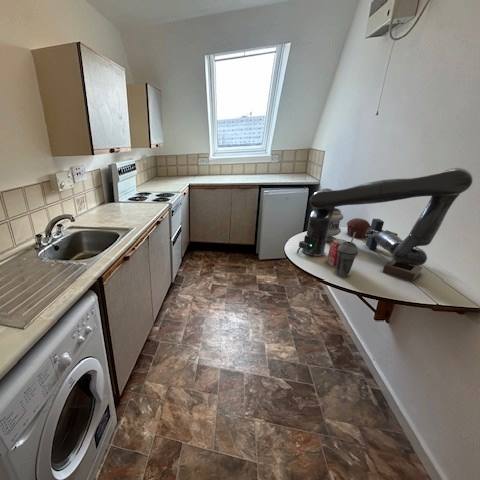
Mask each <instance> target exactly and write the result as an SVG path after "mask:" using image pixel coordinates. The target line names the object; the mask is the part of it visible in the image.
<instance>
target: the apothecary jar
mask: <svg viewBox="0 0 480 480" xmlns="http://www.w3.org/2000/svg"><path fill="white" fill-rule="evenodd" d="M342 220H344V215H343V213H342V209H341V208H338V207H335V208H334V212H333V216H332V218H331V221H330V226H329V231H328V235H327V240H326V243H332V242H333V240H334V239H337V238H336V237H335V236H338V235H340V234H341V232H342V230H341V228H340V223H341V221H342Z"/></svg>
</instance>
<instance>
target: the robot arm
mask: <svg viewBox="0 0 480 480" xmlns="http://www.w3.org/2000/svg"><path fill="white" fill-rule="evenodd" d="M473 180H474V179H473V175H472V173H471V172H470V171H469V170H467V169H465V168H462V167H452V168H448V169H446V170H443V171H441V172H437V173H433V174H428V175H425V176H418V177H411V178H410V177H409V178H407V177H406V178H389V179H381V180H376V181H375V180H374V181H369V182H365V183H360V184H357V185H354V186H351V187H348V188H342V189H335V190H333V189H332V188H327V187H326V188H322V189H319V190H317V191H316V192H314V193H313V194H312V195H311V197H310V199H309V203H310V206H311V207H312V210H311V213H310V215H309V218H308V223H307V229H306V234H305V235H304V240H300V241H299V242H298V249H297V251H296V254H300V253H299V252H300V250H301V249H302V250H301V252H302V253H303V254H306V255H308V256H310V257H322V256H324V255H325V250H326V245H327V242H326V240H327V235H328V231H329V226H330V221H331V218H332V216H333V212H334V208H338V207H342V206H355V205H356V206H357V205H372V204H381V203H389V202H395V201H401V200H407V199H412V198H420V197H430V199H429V201H428V203H427V205H426V206H425V207H424V209H423V211H422V213H420V215H419V217H418V218H417V220H416V221H415V223H414V225H413V226H412V228H411V230H410V231H409V233H408V235H407V236H406V237H405V238H404V239H402V238H400V237H399V236H398V235H399V234H398V233H397V232H393V231H391V230H387V229H386V230H384V229H382V231H381V232H379V231H377V230H373V229H372V228H370V227H369V228H368V229H367V232H366V235H365V237H364V238H368V237H369V236H370V237H372V238H374V239H375V240H376V242H377V243H378V245H379V246H380V247H381V248H383V250H385V251H387V252H388V253H390V254H391V257H392V259H393V260H394V261H396V262H398V263H403V264H408V265H414V266H422V265H424V264H426V262H427V260H428V254H427V253H426V252H425V250H424V249H422V248H419V247H426V246H428V245H430V244H431V243H432V242H433V240H434V238H435V236H436V234H437V233H438V231H439V230H440V227H441V226H442V224H443V221H444V220H445V218H446V215H447V213H448V211H450V208H451V206H453V204H454V202H455V201H456V200H457V198H458V197H460V195H461V194H462V193H465V192H466V191H468V190H469V189H470V188H471V186H472V185H473V182H474V181H473Z"/></svg>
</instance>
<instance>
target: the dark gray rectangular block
mask: <svg viewBox="0 0 480 480" xmlns="http://www.w3.org/2000/svg"><path fill="white" fill-rule="evenodd" d="M384 224H385V221H384V220H382V219H381V218H372V221H371V223H370V226H371V227H370V228H372V229H373V230H377V231H379V232H381V231H382V230H383V227H384ZM366 238H367V239H366V242H365V247H367V248H368V249H370V250H377V249H378V245H379V244H378V243H377V242H376V240H375V239H374V238H372V237H370V236H369V237H366Z"/></svg>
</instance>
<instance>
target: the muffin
mask: <svg viewBox="0 0 480 480" xmlns="http://www.w3.org/2000/svg"><path fill="white" fill-rule="evenodd" d="M346 226H347V229H346V230H347V231H346V235H347V236H348V237H351V238H352V237H353V234H354V232H356V233H355V236H354V239H355V238H358V239H362V238H366V237H365V235H366V232H367V229H368V228H369V227H371V223H370V222H369V221H368V220H366V219H363V218H358V217H357V218H352V219H349V220H348V221H347V222H346Z"/></svg>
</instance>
